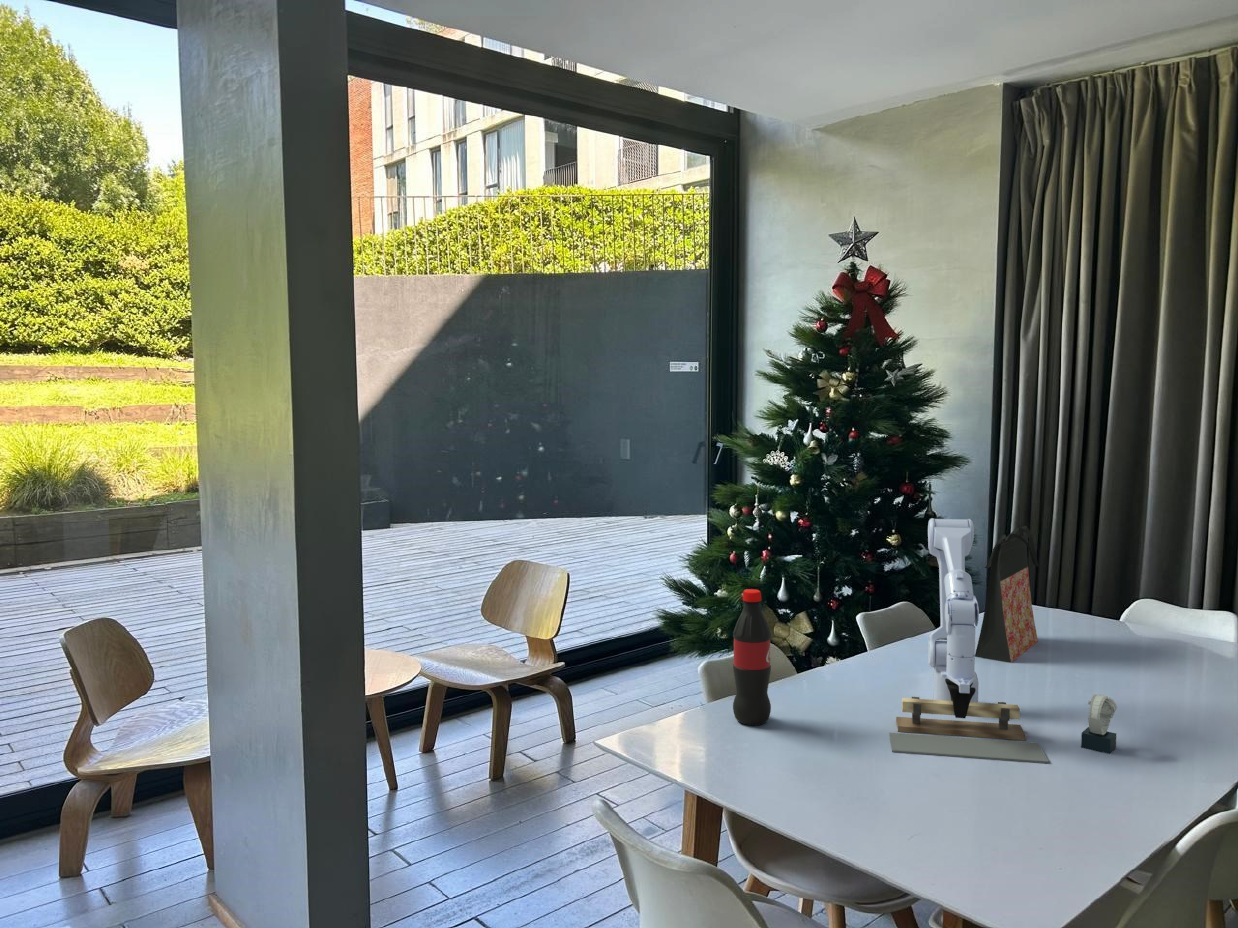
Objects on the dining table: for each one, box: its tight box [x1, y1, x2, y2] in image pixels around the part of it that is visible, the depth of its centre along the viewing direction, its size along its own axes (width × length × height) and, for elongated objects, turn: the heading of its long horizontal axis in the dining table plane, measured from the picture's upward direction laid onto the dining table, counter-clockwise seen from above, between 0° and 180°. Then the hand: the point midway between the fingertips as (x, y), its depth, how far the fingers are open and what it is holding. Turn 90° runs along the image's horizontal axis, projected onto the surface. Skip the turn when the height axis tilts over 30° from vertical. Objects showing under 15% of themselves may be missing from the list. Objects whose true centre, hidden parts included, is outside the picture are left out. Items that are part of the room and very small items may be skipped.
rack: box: [895, 696, 1027, 741], centre depth 205 cm, size 26×6×6 cm, turn 77°
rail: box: [901, 697, 1021, 720], centre depth 205 cm, size 24×2×2 cm, turn 77°
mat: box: [888, 732, 1050, 764], centre depth 196 cm, size 30×10×1 cm, turn 77°
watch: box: [1080, 694, 1118, 755], centre depth 195 cm, size 6×8×11 cm
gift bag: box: [975, 525, 1040, 664], centre depth 267 cm, size 29×14×35 cm, turn 141°
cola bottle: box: [732, 588, 772, 726], centre depth 212 cm, size 8×8×30 cm
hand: (959, 715), depth 205 cm, fingers closed on rail, 2 cm apart
